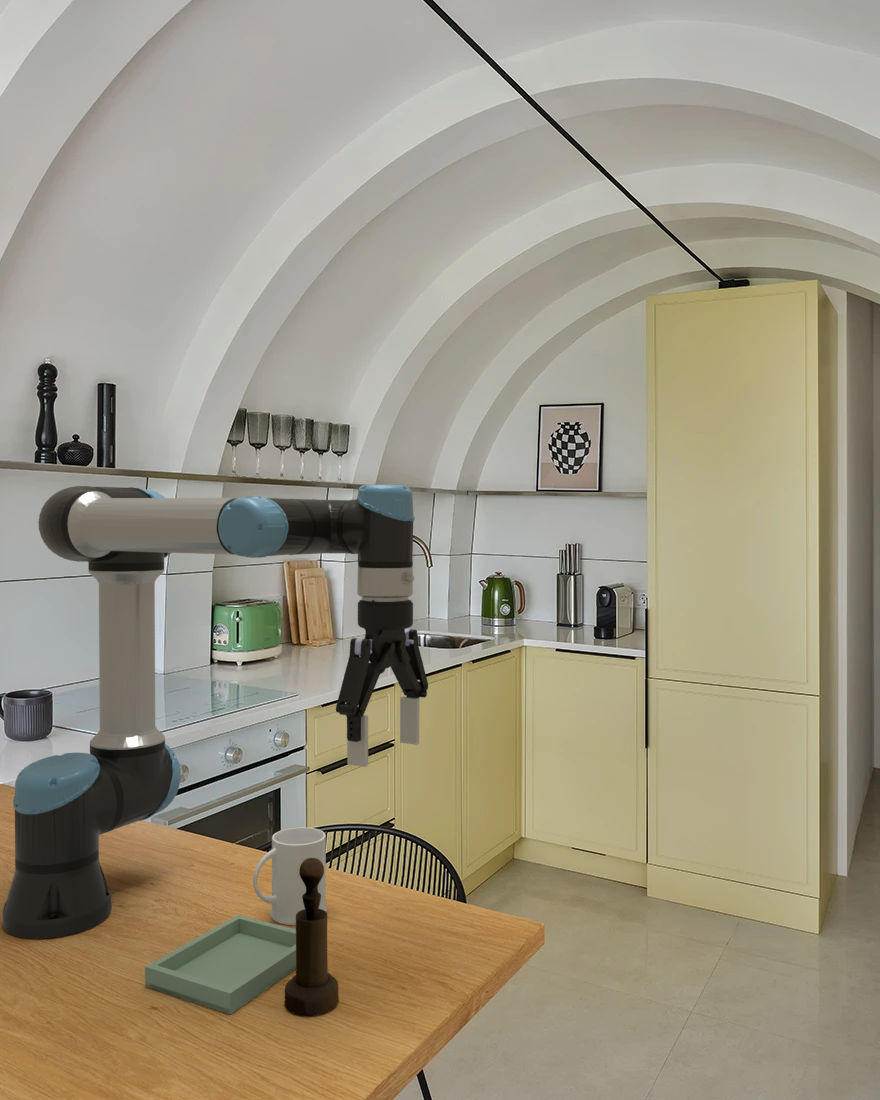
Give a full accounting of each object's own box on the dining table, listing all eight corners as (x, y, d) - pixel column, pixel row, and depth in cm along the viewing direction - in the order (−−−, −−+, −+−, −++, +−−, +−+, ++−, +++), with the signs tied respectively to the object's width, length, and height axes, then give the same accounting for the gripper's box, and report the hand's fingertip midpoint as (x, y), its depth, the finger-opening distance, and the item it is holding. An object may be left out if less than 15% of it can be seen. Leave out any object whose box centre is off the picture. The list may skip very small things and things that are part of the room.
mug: (262, 936, 134) (262, 853, 134) (241, 914, 142) (241, 836, 141) (336, 917, 141) (336, 838, 140) (312, 898, 148) (312, 823, 148)
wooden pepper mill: (313, 984, 121) (313, 846, 120) (349, 1001, 116) (349, 858, 116) (273, 1004, 115) (273, 860, 115) (309, 1023, 111) (309, 873, 111)
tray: (145, 986, 120) (145, 966, 120) (238, 932, 136) (238, 914, 135) (230, 1014, 113) (230, 993, 113) (317, 953, 129) (317, 935, 129)
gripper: (358, 607, 114) (358, 779, 115) (452, 593, 136) (451, 738, 137) (308, 604, 118) (308, 771, 119) (407, 591, 140) (406, 732, 141)
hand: (384, 753), depth 128 cm, fingers open, 13 cm apart
